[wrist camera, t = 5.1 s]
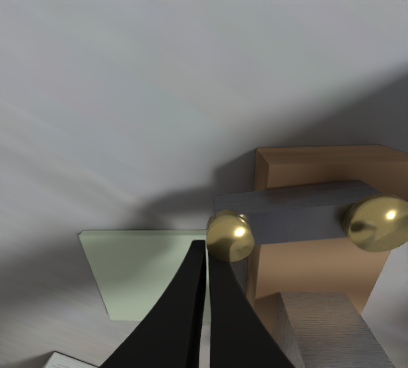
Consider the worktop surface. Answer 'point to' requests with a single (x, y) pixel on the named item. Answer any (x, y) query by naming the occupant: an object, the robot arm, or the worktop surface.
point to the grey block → (325, 332)
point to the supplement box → (65, 362)
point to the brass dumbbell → (306, 218)
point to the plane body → (325, 248)
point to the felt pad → (138, 267)
